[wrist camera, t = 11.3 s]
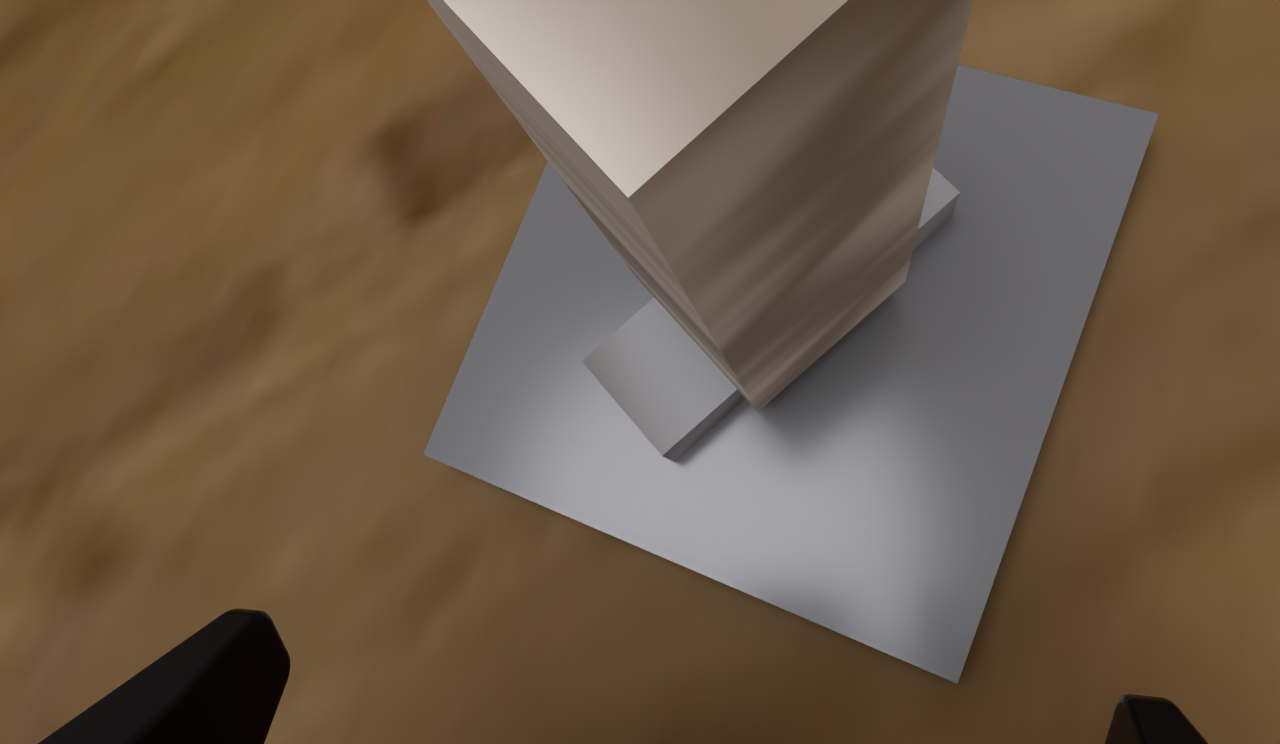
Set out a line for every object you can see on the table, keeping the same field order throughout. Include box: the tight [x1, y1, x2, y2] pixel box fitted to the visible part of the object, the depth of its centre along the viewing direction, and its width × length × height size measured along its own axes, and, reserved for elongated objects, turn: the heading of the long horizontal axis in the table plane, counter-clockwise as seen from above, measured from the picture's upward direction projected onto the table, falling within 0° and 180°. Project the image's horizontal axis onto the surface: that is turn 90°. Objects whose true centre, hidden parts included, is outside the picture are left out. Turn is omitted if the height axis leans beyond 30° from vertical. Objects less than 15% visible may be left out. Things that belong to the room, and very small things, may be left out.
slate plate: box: [423, 65, 1158, 684], centre depth 23 cm, size 14×14×2 cm
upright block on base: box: [427, 0, 973, 462], centre depth 15 cm, size 9×4×14 cm, turn 130°
